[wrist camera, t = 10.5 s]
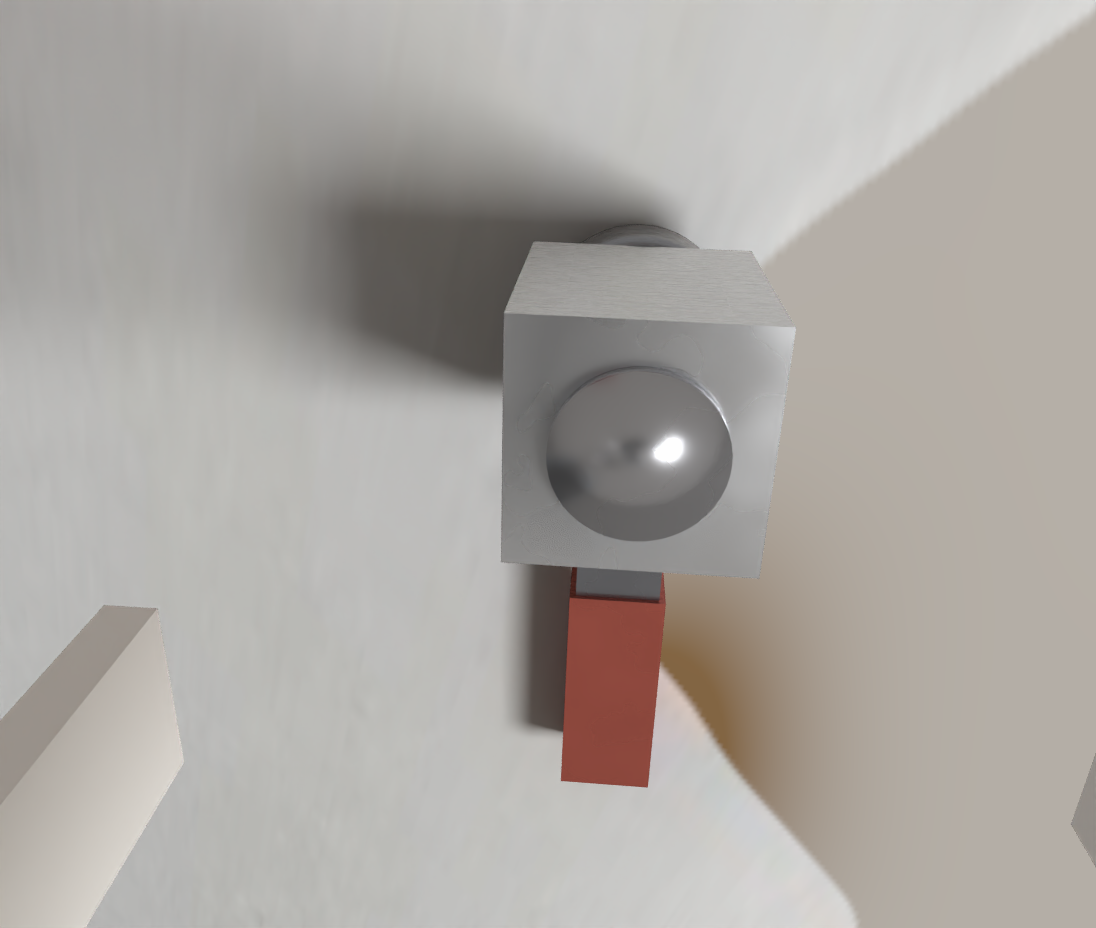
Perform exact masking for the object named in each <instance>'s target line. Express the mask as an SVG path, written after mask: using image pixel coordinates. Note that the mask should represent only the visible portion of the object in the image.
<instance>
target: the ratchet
mask: <svg viewBox="0 0 1096 928" xmlns="http://www.w3.org/2000/svg"><path fill="white" fill-rule="evenodd" d="M581 244H603V245H625V246H647V247H669V248H691V249H700V248H699V247H697V246H696V245H695V244H693V243H692V242H691V241H690V240H688V239H686V238H685V237H683V236H681V235H679V234H678V233H675V232H673V231H670V230H667V229H664V228H660V227H656V226H650V225H625V226H619V227H615V228H611V229H608V230H605V231H602V232H600V233H598V234H596V235H593V236H592V237H590V238H588V239H587V240H585V241H584V242H582V243H581ZM665 605H666V603H665V590H664V576H663V573H662V572H646V571H630V570H615V569H599V568H583V567H572V577H571V588H570V600H569V621H568V642H567V664H566V685H565V706H564V728H563V749H562V770H561V781H569V782H582V783H596V784H609V785H622V786H636V787H648V779H649V769H650V758H651V748H652V738H653V728H654V718H655V708H656V697H657V687H658V677H659V667H660V657H661V646H662V636H663V626H664V616H665Z"/></svg>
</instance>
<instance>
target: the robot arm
mask: <svg viewBox="0 0 1096 928" xmlns="http://www.w3.org/2000/svg"><path fill="white" fill-rule="evenodd" d="M183 763H184V759H183V753H182V747H181V741H180V735H179V730H178V724H177V718H176V712H175V707H174V701H173V695H172V689H171V683H170V678H169V672H168V666H167V660H166V654H165V649H164V643H163V637H162V631H161V625H160V620H159V614H158V609H157V608H141V607H125V606H109V605H104V606H103V607H102V608H101V609H100V610H99V611H98V612H97V614H96V615H95V616H94V617H93V618H92V619H91V620H90V621H89V622H88V624H87V625H86V626H85V627H84V628H83V629H82V630H81V631H80V633H79V634H78V635H77V636H76V637H75V638H74V639H73V640H72V641H71V643H70V644H69V645H68V646H67V647H66V648H65V649H64V650H63V651H62V653H61V654H60V655H59V656H58V657H57V658H56V659H55V660H54V661H53V663H52V664H51V665H50V666H49V667H48V668H47V669H46V670H45V672H44V673H43V674H42V675H41V676H40V677H39V678H38V679H37V680H36V682H35V683H34V684H33V685H32V686H31V687H30V688H29V689H28V690H27V692H26V693H25V694H24V695H23V696H22V697H21V698H20V699H19V700H18V702H17V703H16V704H15V705H14V706H13V707H12V708H11V709H10V710H9V712H8V713H7V714H6V715H5V716H4V717H3V718H2V719H1V721H0V928H86V926H87V925H88V923H89V921H90V919H91V918H92V916H93V914H94V913H95V911H96V909H97V908H98V906H99V904H100V903H101V901H102V899H103V898H104V896H105V894H106V893H107V891H108V889H109V887H110V886H111V884H112V882H113V881H114V879H115V877H116V876H117V874H118V872H119V871H120V869H121V867H122V866H123V864H124V862H125V861H126V859H127V857H128V856H129V854H130V852H131V850H132V849H133V847H134V845H135V844H136V842H137V840H138V839H139V837H140V835H141V834H142V832H143V830H144V829H145V827H146V825H147V824H148V822H149V820H150V818H151V817H152V815H153V813H154V812H155V810H156V808H157V807H158V805H159V803H160V802H161V800H162V798H163V797H164V795H165V793H166V792H167V790H168V788H169V787H170V785H171V783H172V781H173V780H174V778H175V776H176V775H177V773H178V771H179V770H180V768H181V766H182V765H183ZM1071 825H1072V827H1073V828H1074V830H1075V832H1076V834H1077V835H1078V837H1079V839H1080V841H1081V842H1082V844H1083V846H1084V848H1085V849H1086V851H1087V853H1088V855H1089V856H1090V858H1091V860H1092V862H1093V863H1094V865H1095V867H1096V754H1095V757H1094V760H1093V763H1092V765H1091V769H1090V771H1089V774H1088V777H1087V780H1086V783H1085V786H1084V788H1083V792H1082V794H1081V797H1080V800H1079V803H1078V806H1077V809H1076V811H1075V814H1074V817H1073V820H1072V823H1071Z"/></svg>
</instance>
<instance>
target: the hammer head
mask: <svg viewBox="0 0 1096 928" xmlns="http://www.w3.org/2000/svg"><path fill="white" fill-rule="evenodd" d="M795 331H796V327H795V325H794V323H793V322H792V320H791V318H790V316H789V315H788V313H787V311H786V309H785V308H784V306H783V304H782V303H781V301H780V299H779V298H778V296H777V294H776V293H775V291H774V289H773V288H772V286H771V284H770V282H769V281H768V279H767V277H766V275H765V274H764V272H763V270H762V269H761V267H760V265H759V263H758V262H757V260H756V258H755V257H754V255H753V253H752V251H735V250H713V249H691V248H669V247H647V246H625V245H603V244H581V243H559V242H537V241H534V242H533V244H532V247H531V249H530V251H529V254H528V256H527V259H526V261H525V263H524V266H523V268H522V271H521V273H520V275H519V278H518V280H517V283H516V285H515V287H514V290H513V292H512V294H511V297H510V299H509V302H508V304H507V306H506V309H505V311H504V336H503V429H502V522H501V562H504V563H520V564H536V565H552V566H567V567H583V568H599V569H615V570H630V571H646V572H662V573H678V574H695V575H711V576H725V577H726V576H727V577H742V578H757V579H759V576H760V570H761V563H762V556H763V549H764V543H765V535H766V529H767V522H768V515H769V508H770V502H771V494H772V488H773V481H774V474H775V467H776V460H777V454H778V447H779V440H780V433H781V426H782V420H783V412H784V406H785V399H786V392H787V385H788V379H789V372H790V365H791V358H792V351H793V345H794V338H795Z"/></svg>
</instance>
